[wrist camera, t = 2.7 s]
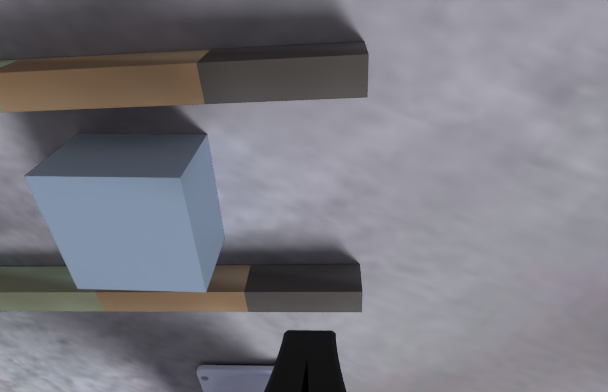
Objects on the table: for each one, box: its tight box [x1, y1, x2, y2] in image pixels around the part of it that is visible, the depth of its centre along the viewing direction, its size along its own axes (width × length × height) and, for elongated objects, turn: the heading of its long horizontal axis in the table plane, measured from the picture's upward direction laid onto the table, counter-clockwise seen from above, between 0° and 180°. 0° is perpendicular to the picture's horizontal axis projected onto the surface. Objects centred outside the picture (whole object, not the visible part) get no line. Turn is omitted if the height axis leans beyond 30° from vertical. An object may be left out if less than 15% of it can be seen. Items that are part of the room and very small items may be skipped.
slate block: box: [24, 134, 225, 292], centre depth 18 cm, size 6×6×4 cm
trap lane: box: [0, 41, 368, 312], centre depth 19 cm, size 13×28×2 cm, turn 94°
